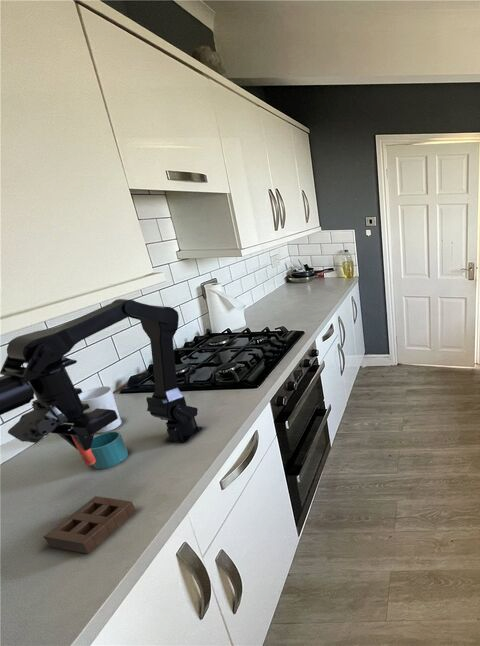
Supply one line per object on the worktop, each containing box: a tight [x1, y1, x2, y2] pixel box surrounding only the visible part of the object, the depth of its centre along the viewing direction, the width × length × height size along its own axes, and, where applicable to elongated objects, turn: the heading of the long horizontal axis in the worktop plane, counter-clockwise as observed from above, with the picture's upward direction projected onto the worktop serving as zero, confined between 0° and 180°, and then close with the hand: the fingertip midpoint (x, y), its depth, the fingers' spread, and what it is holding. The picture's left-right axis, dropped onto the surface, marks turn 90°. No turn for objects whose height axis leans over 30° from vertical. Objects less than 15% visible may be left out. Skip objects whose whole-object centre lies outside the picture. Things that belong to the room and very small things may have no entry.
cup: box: [78, 385, 122, 434], centre depth 106 cm, size 8×8×12 cm
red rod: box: [71, 435, 96, 467], centre depth 79 cm, size 2×2×10 cm
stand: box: [43, 495, 137, 555], centre depth 74 cm, size 10×10×3 cm
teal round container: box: [90, 430, 129, 470], centre depth 93 cm, size 7×7×6 cm
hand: (84, 448), depth 80 cm, fingers closed on red rod, 2 cm apart
